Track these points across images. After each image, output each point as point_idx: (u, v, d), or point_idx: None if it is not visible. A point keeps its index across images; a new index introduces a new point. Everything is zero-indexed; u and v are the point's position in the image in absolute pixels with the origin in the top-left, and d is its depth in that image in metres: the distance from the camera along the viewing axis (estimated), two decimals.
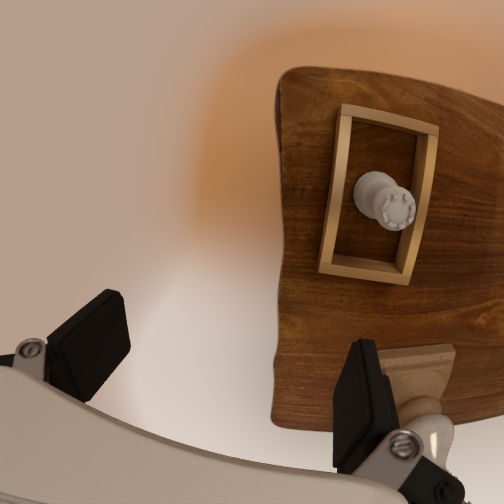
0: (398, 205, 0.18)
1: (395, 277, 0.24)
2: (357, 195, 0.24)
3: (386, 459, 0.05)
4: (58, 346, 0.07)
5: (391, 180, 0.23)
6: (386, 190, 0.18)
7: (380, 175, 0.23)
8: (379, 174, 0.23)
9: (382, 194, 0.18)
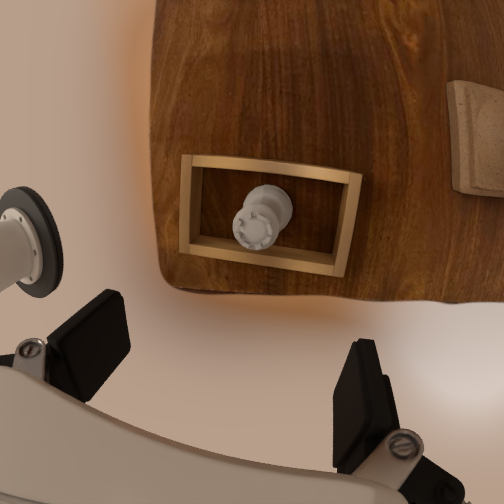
0: (248, 230, 0.20)
1: (352, 192, 0.22)
2: None
3: (386, 459, 0.05)
4: (58, 346, 0.07)
5: (247, 200, 0.25)
6: (237, 239, 0.21)
7: None
8: None
9: (241, 243, 0.21)
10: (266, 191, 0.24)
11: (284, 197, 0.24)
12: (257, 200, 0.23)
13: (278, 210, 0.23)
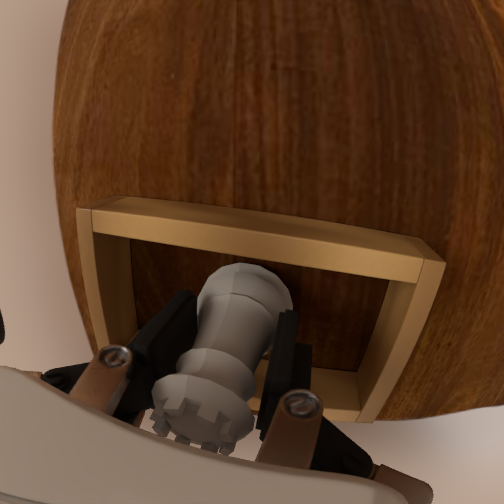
0: (181, 426, 0.07)
1: (420, 299, 0.09)
2: None
3: (289, 421, 0.06)
4: (148, 351, 0.08)
5: (202, 298, 0.12)
6: None
7: None
8: None
9: None
10: (238, 286, 0.12)
11: (277, 296, 0.12)
12: (217, 313, 0.11)
13: (261, 336, 0.11)
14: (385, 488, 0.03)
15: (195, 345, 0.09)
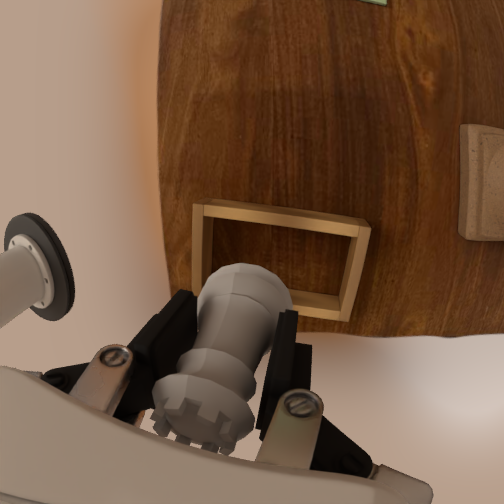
0: (182, 425, 0.07)
1: (360, 245, 0.23)
2: None
3: (289, 422, 0.06)
4: (148, 351, 0.08)
5: (202, 298, 0.12)
6: None
7: (197, 317, 0.13)
8: (197, 317, 0.13)
9: None
10: (238, 286, 0.12)
11: (277, 297, 0.12)
12: (217, 314, 0.11)
13: (261, 337, 0.11)
14: (385, 488, 0.03)
15: (195, 345, 0.09)
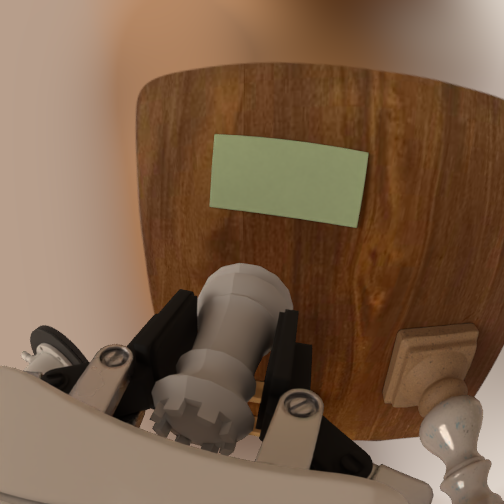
0: (182, 426, 0.07)
1: None
2: None
3: (289, 421, 0.06)
4: (148, 351, 0.08)
5: (202, 299, 0.12)
6: None
7: None
8: None
9: None
10: (238, 287, 0.12)
11: (277, 297, 0.12)
12: (217, 314, 0.11)
13: (261, 337, 0.10)
14: (385, 488, 0.03)
15: (195, 346, 0.09)
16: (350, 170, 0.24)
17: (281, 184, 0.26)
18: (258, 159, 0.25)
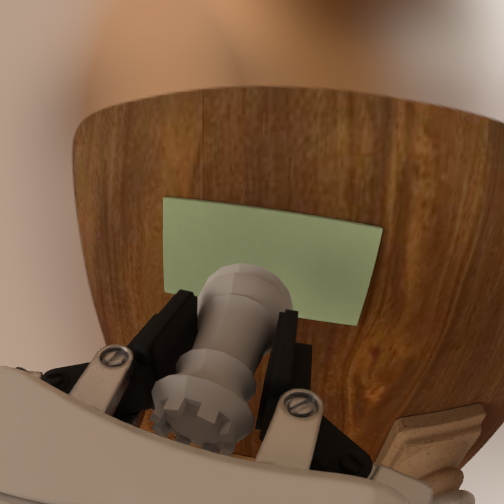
0: (181, 426, 0.07)
1: None
2: None
3: (289, 421, 0.06)
4: (148, 351, 0.08)
5: (202, 298, 0.12)
6: None
7: None
8: None
9: None
10: (238, 286, 0.12)
11: (277, 297, 0.12)
12: (217, 314, 0.11)
13: (261, 337, 0.10)
14: (385, 488, 0.03)
15: (195, 345, 0.09)
16: (354, 254, 0.17)
17: None
18: (223, 236, 0.18)
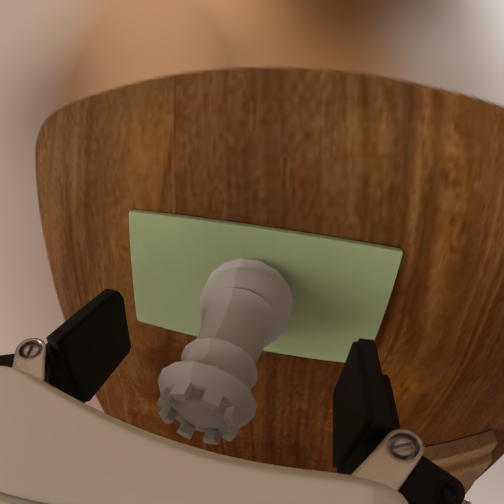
0: (187, 412, 0.08)
1: None
2: None
3: (386, 459, 0.05)
4: (58, 346, 0.07)
5: (205, 292, 0.13)
6: None
7: (201, 311, 0.13)
8: (200, 310, 0.13)
9: None
10: (240, 280, 0.12)
11: (277, 291, 0.12)
12: (220, 306, 0.11)
13: (262, 328, 0.11)
14: (385, 488, 0.03)
15: (200, 336, 0.10)
16: (366, 283, 0.13)
17: None
18: (201, 259, 0.14)
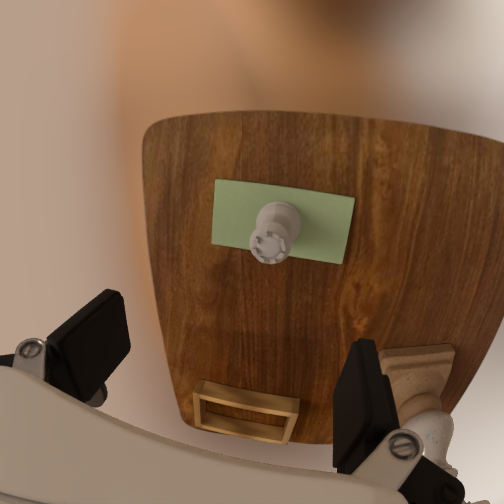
0: (264, 247, 0.22)
1: (291, 419, 0.35)
2: None
3: (386, 459, 0.05)
4: (58, 346, 0.07)
5: (260, 215, 0.27)
6: (253, 254, 0.23)
7: (257, 226, 0.28)
8: (256, 226, 0.28)
9: (257, 258, 0.23)
10: (278, 208, 0.26)
11: (294, 213, 0.27)
12: (270, 217, 0.26)
13: (289, 226, 0.25)
14: (385, 488, 0.03)
15: None
16: (337, 214, 0.28)
17: None
18: (255, 203, 0.29)
